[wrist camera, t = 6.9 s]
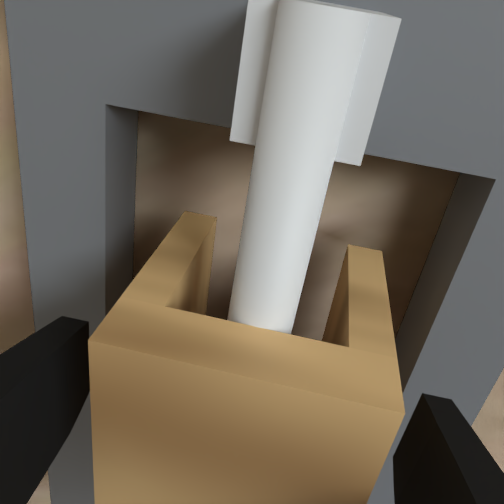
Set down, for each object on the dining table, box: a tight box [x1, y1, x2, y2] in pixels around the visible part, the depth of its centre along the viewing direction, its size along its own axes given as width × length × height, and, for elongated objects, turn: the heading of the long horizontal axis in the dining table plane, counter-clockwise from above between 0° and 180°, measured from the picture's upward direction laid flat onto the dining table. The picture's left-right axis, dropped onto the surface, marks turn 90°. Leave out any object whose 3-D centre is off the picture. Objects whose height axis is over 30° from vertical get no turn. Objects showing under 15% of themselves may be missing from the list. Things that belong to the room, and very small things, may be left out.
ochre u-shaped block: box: [88, 211, 405, 504], centre depth 10 cm, size 5×5×5 cm
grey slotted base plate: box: [4, 0, 504, 504], centre depth 12 cm, size 20×12×5 cm, turn 171°
